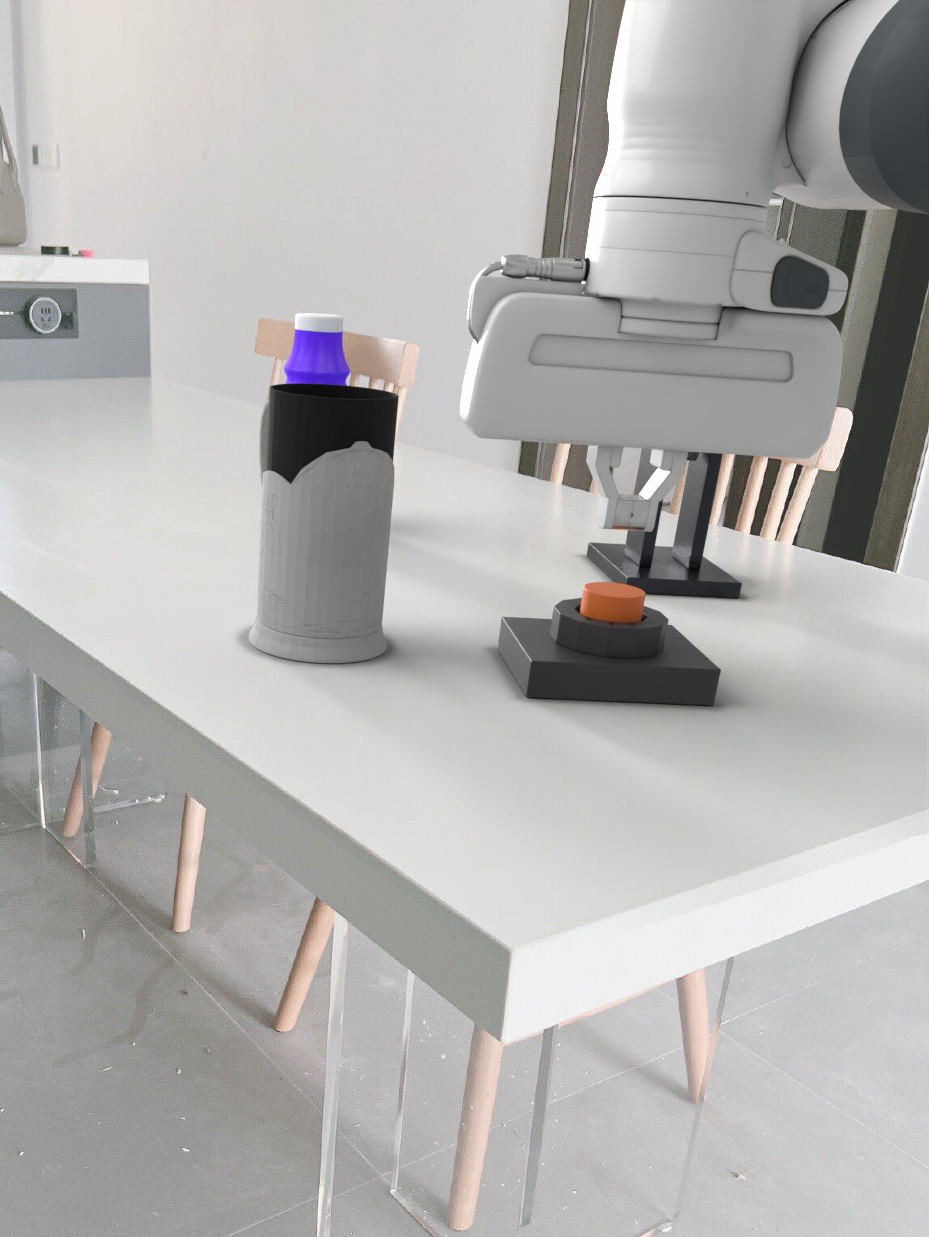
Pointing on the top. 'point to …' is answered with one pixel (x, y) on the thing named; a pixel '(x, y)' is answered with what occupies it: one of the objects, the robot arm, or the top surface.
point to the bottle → (317, 351)
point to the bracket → (684, 561)
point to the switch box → (606, 659)
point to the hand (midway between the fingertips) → (624, 528)
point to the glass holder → (324, 521)
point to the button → (612, 602)
